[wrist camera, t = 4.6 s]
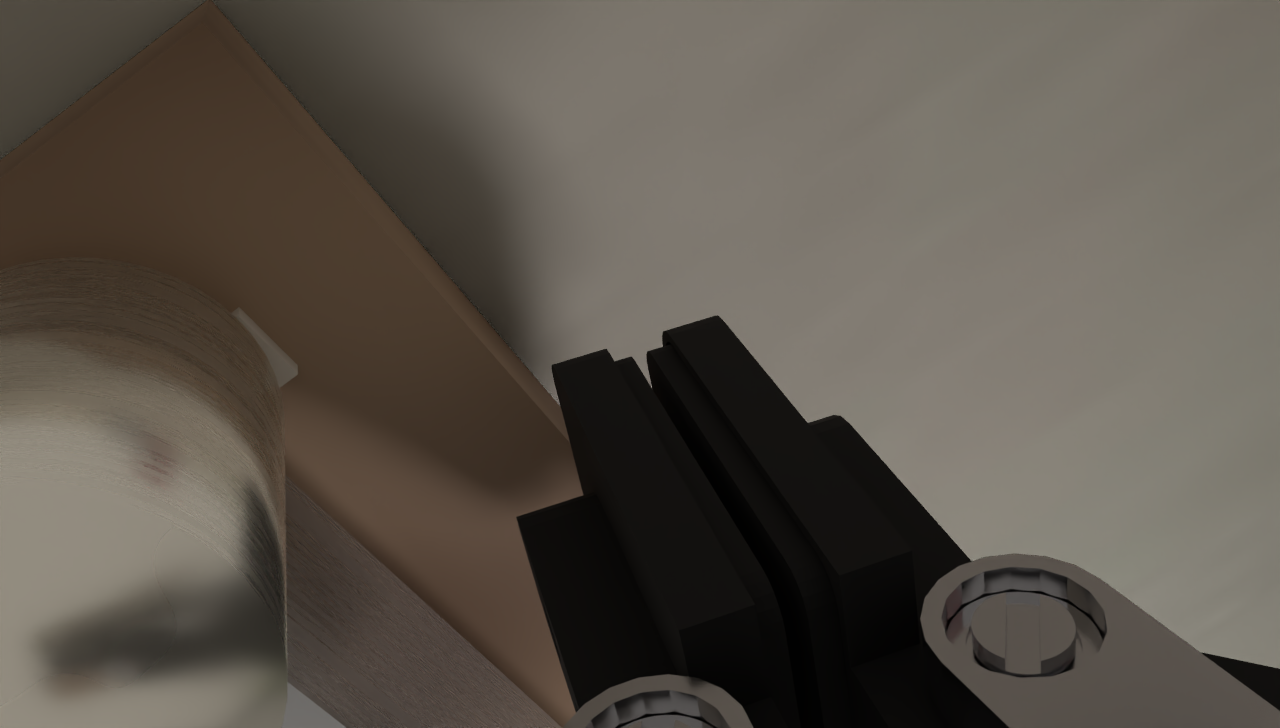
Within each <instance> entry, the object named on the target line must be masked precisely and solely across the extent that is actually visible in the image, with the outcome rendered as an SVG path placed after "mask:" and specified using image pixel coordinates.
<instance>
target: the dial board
mask: <svg viewBox="0 0 1280 728" xmlns="http://www.w3.org/2000/svg"><path fill="white" fill-rule="evenodd" d="M68 257H77V258H101V259H108V260H116V261H123V262H128V263H132V264H136V265H140V266H144V267H148V268H151V269H154V270H157V271H159V272H162V273H165V274H167V275H170V276H173V277H175V278H178V279H180V280H181V281H183V282H185V283H187V284H189V285H191V286H193V287H195V288H197V289H199V290H201V291H202V292H204V293H205V294H207V295H208V296H210V297H211V298H212V299H214V300H215V301H217V302H218V303H220V304H221V305H222V306H223V307H225V308H226V309H227V310H228V311H229V312H230V313H231V314H233V315H234V316H235V317H236V318H237V319H238V320H239V321H240V322H241V323H242V324H243V325H244V326H245V328H246V329H247V330H248V331H249V332H250V333H251V334H252V335H253V337H254V338H255V339H256V341H257V342H258V344H259V345H260V347H261V348H262V350H263V351H264V353H265V354H266V356H267V358H268V360H269V362H270V364H271V366H272V369H273V371H274V373H275V375H276V378H277V381H278V385H279V388H280V391H281V395H282V401H283V408H284V421H285V475H286V476H287V477H288V478H289V479H290V480H292V481H293V482H294V483H295V484H296V485H297V486H298V487H299V488H300V489H301V490H302V491H304V492H305V493H306V494H307V495H308V496H309V497H310V498H311V499H312V500H313V501H315V502H316V503H317V504H318V505H319V506H320V507H321V508H322V509H323V510H324V511H325V512H327V513H328V514H329V515H330V516H331V517H332V518H333V519H334V520H335V521H336V522H337V523H339V524H340V525H341V526H342V527H343V528H344V529H345V530H346V531H347V532H348V533H350V534H351V535H352V536H353V537H354V538H355V539H356V540H357V541H358V542H359V543H360V544H362V545H363V546H364V547H365V548H366V549H367V550H368V551H369V552H370V553H371V554H373V555H374V556H375V557H376V558H377V559H378V560H379V561H380V562H381V563H382V564H383V565H385V566H386V567H387V568H388V569H389V570H390V571H391V572H392V573H393V574H394V575H396V576H397V577H398V578H399V579H400V580H401V581H402V582H403V583H404V584H405V585H406V586H408V587H409V588H410V589H411V590H412V591H413V592H414V593H415V594H416V595H417V596H419V597H420V598H421V599H422V600H423V601H424V602H425V603H426V604H427V605H428V606H429V607H431V608H432V609H433V610H434V611H435V612H436V613H437V614H438V615H439V616H440V617H441V618H443V619H444V620H445V621H446V622H447V623H448V624H449V625H450V626H451V627H452V628H454V629H455V630H456V631H457V632H458V633H459V634H460V635H461V636H462V637H463V638H464V639H466V640H467V641H468V642H469V643H470V644H471V645H472V646H473V647H474V648H475V649H477V650H478V651H479V652H480V653H481V654H482V655H483V656H484V657H485V658H486V659H487V660H489V661H490V662H491V663H492V664H493V665H494V666H495V667H496V668H497V669H498V670H500V671H501V672H502V673H503V674H504V675H505V676H506V677H507V678H508V679H509V680H510V681H512V682H513V683H514V684H515V685H516V686H517V687H518V688H519V689H520V690H521V691H523V692H524V693H525V694H526V695H527V696H528V697H529V698H530V699H531V700H532V701H533V702H535V703H536V704H537V705H538V706H539V707H540V708H541V709H542V710H543V711H544V712H545V713H547V714H548V715H549V716H550V717H551V718H552V719H553V720H554V721H555V722H556V723H558V724H559V725H560V726H561V727H562V728H563V727H564V725H565V724H566V723H567V722H568V721H569V720H570V719H571V718H572V717H573V716H574V714H575V713H576V711H575V708H574V705H573V702H572V699H571V696H570V693H569V690H568V686H567V683H566V680H565V677H564V674H563V671H562V668H561V665H560V661H559V658H558V655H557V652H556V649H555V646H554V642H553V639H552V636H551V633H550V630H549V626H548V623H547V620H546V617H545V613H544V610H543V607H542V603H541V600H540V597H539V594H538V590H537V587H536V584H535V580H534V577H533V573H532V570H531V567H530V563H529V560H528V557H527V553H526V550H525V546H524V543H523V540H522V536H521V533H520V529H519V526H518V522H517V518H516V517H517V516H520V515H523V514H526V513H530V512H533V511H536V510H539V509H542V508H545V507H548V506H551V505H555V504H558V503H561V502H564V501H567V500H570V499H573V498H576V497H580V496H583V492H582V488H581V484H580V480H579V476H578V472H577V468H576V464H575V460H574V457H573V453H572V449H571V445H570V441H569V437H568V433H567V429H566V425H565V421H564V418H563V414H562V410H561V407H560V406H559V405H558V403H557V402H556V401H555V400H554V399H553V398H552V396H551V395H550V394H549V393H548V392H547V391H546V389H545V388H544V387H543V386H542V385H541V384H540V382H539V381H538V380H537V379H536V378H535V377H534V375H533V374H532V373H531V372H530V371H529V370H528V368H527V367H526V366H525V365H524V364H523V363H522V361H521V360H520V359H519V358H518V357H517V356H516V354H515V353H514V352H513V351H512V350H511V349H510V347H509V346H508V345H507V344H506V343H505V342H504V340H503V339H502V338H501V337H500V336H499V335H498V333H497V332H496V331H495V330H494V329H493V328H492V327H491V325H490V324H489V323H488V322H487V321H486V320H485V318H484V317H483V316H482V315H481V314H480V313H479V311H478V310H477V309H476V308H475V307H474V306H473V304H472V303H471V302H470V301H469V300H468V299H467V297H466V296H465V295H464V294H463V293H462V292H461V290H460V289H459V288H458V287H457V286H456V285H455V283H454V282H453V281H452V280H451V279H450V278H449V276H448V275H447V274H446V273H445V272H444V271H443V269H442V268H441V267H440V266H439V265H438V264H437V262H436V261H435V260H434V259H433V258H432V257H431V255H430V254H429V253H428V252H427V251H426V250H425V248H424V247H423V246H422V245H421V244H420V243H419V241H418V240H417V239H416V238H415V237H414V236H413V235H412V233H411V232H410V231H409V230H408V229H407V228H406V226H405V225H404V224H403V223H402V222H401V221H400V219H399V218H398V217H397V216H396V215H395V214H394V212H393V211H392V210H391V209H390V208H389V207H388V205H387V204H386V203H385V202H384V201H383V200H382V198H381V197H380V196H379V195H378V194H377V193H376V191H375V190H374V189H373V188H372V187H371V186H370V184H369V183H368V182H367V181H366V180H365V179H364V177H363V176H362V175H361V174H360V173H359V172H358V170H357V169H356V168H355V167H354V166H353V165H352V163H351V162H350V161H349V160H348V159H347V158H346V156H345V155H344V154H343V153H342V152H341V151H340V150H339V148H338V147H337V146H336V145H335V144H334V143H333V141H332V140H331V139H330V138H329V137H328V136H327V134H326V133H325V132H324V131H323V130H322V129H321V127H320V126H319V125H318V124H317V123H316V122H315V120H314V119H313V118H312V117H311V116H310V115H309V113H308V112H307V111H306V110H305V109H304V108H303V106H302V105H301V104H300V103H299V102H298V101H297V99H296V98H295V97H294V96H293V95H292V94H291V92H290V91H289V90H288V89H287V88H286V87H285V85H284V84H283V83H282V82H281V81H280V80H279V78H278V77H277V76H276V75H275V74H274V73H273V71H272V70H271V69H270V68H269V67H268V66H267V64H266V63H265V62H264V61H263V60H262V59H261V58H260V56H259V55H258V54H257V53H256V52H255V51H254V49H253V48H252V47H251V46H250V45H249V44H248V42H247V41H246V40H245V39H244V38H243V37H242V35H241V34H240V33H239V32H238V31H237V30H236V28H235V27H234V26H233V25H232V24H231V23H230V21H229V20H228V19H227V18H226V17H225V16H224V14H223V13H222V12H221V11H220V10H219V9H218V7H217V6H216V5H215V4H214V3H213V2H212V0H207V1H205V2H204V3H203V4H202V5H200V6H199V7H198V8H196V9H195V10H194V11H193V12H191V13H190V14H189V15H187V16H186V17H185V18H183V19H182V20H181V21H180V22H178V23H177V24H176V25H174V26H173V27H172V28H171V29H169V30H168V31H167V32H165V33H164V34H163V35H161V36H160V37H159V38H158V39H156V40H155V41H154V42H152V43H151V44H150V45H149V46H147V47H146V48H145V49H143V50H142V51H141V52H139V53H138V54H137V55H136V56H134V57H133V58H132V59H130V60H129V61H128V62H127V63H125V64H124V65H123V66H121V67H120V68H119V69H117V70H116V71H115V72H114V73H112V74H111V75H110V76H108V77H107V78H106V79H105V80H103V81H102V82H101V83H99V84H98V85H97V86H96V87H94V88H93V89H92V90H90V91H89V92H88V93H86V94H85V95H84V96H83V97H81V98H80V99H79V100H77V101H76V102H75V103H74V104H72V105H71V106H70V107H68V108H67V109H66V110H64V111H63V112H62V113H61V114H59V115H58V116H57V117H55V118H54V119H53V120H52V121H50V122H49V123H48V124H46V125H45V126H44V127H42V128H41V129H40V130H39V131H37V132H36V133H35V134H33V135H32V136H31V137H30V138H28V139H27V140H26V141H24V142H23V143H22V144H20V145H19V146H18V147H17V148H15V149H14V150H13V151H11V152H10V153H9V154H8V155H6V156H5V157H4V158H2V159H1V160H0V270H3V269H6V268H9V267H12V266H15V265H19V264H24V263H29V262H34V261H38V260H45V259H56V258H68Z"/></svg>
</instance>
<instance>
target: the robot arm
mask: <svg viewBox="0 0 1280 728" xmlns="http://www.w3.org/2000/svg"><path fill="white" fill-rule="evenodd" d="M662 341H663V347H661V348H658V349H654V350H651V351H648V352H647V364H648V370H649V374H650V379H651V384H652V388H651V386H650V385H649V383H648V381H647V380H646V378H645V377H644V375H643V373H642V372H641V370H640V368H639V367H638V365H637V364H636V362H635V360H634V359H633V358H632V357H628V358H625V359H621V360H618V361H615V362H614V360H613V358H612V357H611V355H610V353H609V352H608V350H607V349H603V350H600V351H597V352H594V353H590V354H587V355H584V356H580V357H577V358H574V359H570V360H567V361H564V362H560V363H557V364H554V365H552V373H553V378H554V382H555V386H556V390H557V394H558V398H559V402H560V406H561V410H562V414H563V418H564V421H565V425H566V429H567V433H568V437H569V441H570V445H571V449H572V453H573V457H574V460H575V464H576V468H577V472H578V476H579V480H580V484H581V488H582V492H583V496H580V497H576V498H573V499H570V500H567V501H564V502H561V503H558V504H555V505H551V506H548V507H545V508H542V509H539V510H536V511H533V512H530V513H526V514H523V515H520V516H517V517H516V518H517V522H518V526H519V529H520V533H521V536H522V540H523V543H524V546H525V550H526V553H527V557H528V560H529V563H530V567H531V570H532V573H533V577H534V580H535V584H536V587H537V590H538V594H539V597H540V600H541V603H542V607H543V610H544V613H545V617H546V620H547V623H548V626H549V630H550V633H551V636H552V639H553V642H554V646H555V649H556V652H557V655H558V658H559V661H560V665H561V668H562V671H563V674H564V677H565V680H566V683H567V686H568V690H569V693H570V696H571V699H572V702H573V705H574V708H575V711H576V713H575V714H574V716H573V717H572V718H571V719H570V720H569V721H568V722H567V723H566V724H565V725H564V727H563V728H1280V669H1278V668H1273V667H1268V666H1263V665H1258V664H1254V663H1249V662H1244V661H1239V660H1234V659H1230V658H1225V657H1220V656H1215V655H1211V654H1206V653H1201V652H1199V651H1198V650H1196V649H1195V648H1194V647H1192V646H1191V645H1190V644H1188V643H1187V642H1185V641H1184V640H1183V639H1181V638H1180V637H1179V636H1177V635H1176V634H1175V633H1173V632H1172V631H1171V630H1169V629H1168V628H1166V627H1165V626H1164V625H1162V624H1161V623H1160V622H1158V621H1157V620H1156V619H1154V618H1153V617H1152V616H1150V615H1149V614H1147V613H1146V612H1145V611H1143V610H1142V609H1141V608H1139V607H1138V606H1137V605H1135V604H1134V603H1133V602H1131V601H1130V600H1128V599H1127V598H1126V597H1124V596H1123V595H1122V594H1120V593H1119V592H1118V591H1116V590H1115V589H1114V588H1112V587H1111V586H1109V585H1108V584H1107V583H1105V582H1104V581H1103V580H1101V579H1100V578H1098V577H1096V576H1094V575H1093V574H1091V573H1089V572H1087V571H1085V570H1084V569H1082V568H1080V567H1078V566H1076V565H1074V564H1070V563H1067V562H1064V561H1060V560H1057V559H1054V558H1050V557H1047V556H1037V555H1026V554H1007V555H998V556H989V557H984V558H981V559H978V560H975V561H971V560H970V559H969V558H968V557H967V556H966V555H965V553H964V552H963V551H962V550H961V549H960V548H959V547H958V545H957V544H956V543H955V542H954V541H953V540H952V539H951V538H950V536H949V535H948V534H947V533H946V532H945V531H944V530H943V529H942V527H941V526H940V525H939V524H938V523H937V522H936V521H935V520H934V518H933V517H932V516H931V515H930V514H929V513H928V512H927V510H926V509H925V508H924V507H923V506H922V505H921V504H920V503H919V501H918V500H917V499H916V498H915V497H914V496H913V495H912V494H911V492H910V491H909V490H908V489H907V488H906V487H905V486H904V485H903V483H902V482H901V481H900V480H899V479H898V478H897V477H896V476H895V474H894V473H893V472H892V471H891V470H890V469H889V468H888V466H887V465H886V464H885V463H884V462H883V461H882V460H881V459H880V457H879V456H878V455H877V454H876V453H875V452H874V451H873V450H872V448H871V447H870V446H869V445H868V444H867V443H866V442H865V441H864V439H863V438H862V437H861V436H860V435H859V434H858V433H857V431H856V430H855V429H854V428H853V427H852V426H851V425H850V424H849V423H848V422H847V421H846V420H845V419H844V418H842V417H841V416H837V415H832V416H829V417H826V418H823V419H820V420H817V421H813V422H810V423H807V422H806V421H805V419H804V418H803V417H802V416H801V415H800V413H799V412H798V411H797V410H796V408H795V407H794V406H793V405H792V404H791V402H790V401H789V400H788V399H787V397H786V396H785V395H784V394H783V393H782V391H781V390H780V389H779V388H778V387H777V385H776V384H775V383H774V382H773V380H772V379H771V378H770V377H769V376H768V374H767V373H766V372H765V371H764V370H763V368H762V367H761V366H760V365H759V363H758V362H757V361H756V360H755V359H754V357H753V356H752V355H751V354H750V352H749V351H748V350H747V349H746V348H745V346H744V345H743V344H742V343H741V342H740V340H739V339H738V338H737V337H736V335H735V334H734V333H733V332H732V331H731V329H730V328H729V327H728V326H727V325H726V323H725V322H724V321H723V320H722V319H721V318H720V317H719V316H713V317H710V318H706V319H703V320H700V321H696V322H693V323H690V324H686V325H683V326H680V327H677V328H673V329H670V330H667V331H663V335H662ZM652 389H653V390H652Z"/></svg>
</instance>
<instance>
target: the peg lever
mask: <svg viewBox="0 0 1280 728" xmlns="http://www.w3.org/2000/svg"><path fill="white" fill-rule="evenodd" d="M0 728H562V727H561V726H560V725H559V724H558V723H556V722H555V721H554V720H553V719H552V718H551V717H550V716H549V715H548V714H547V713H545V712H544V711H543V710H542V709H541V708H540V707H539V706H538V705H537V704H536V703H535V702H533V701H532V700H531V699H530V698H529V697H528V696H527V695H526V694H525V693H524V692H523V691H521V690H520V689H519V688H518V687H517V686H516V685H515V684H514V683H513V682H512V681H510V680H509V679H508V678H507V677H506V676H505V675H504V674H503V673H502V672H501V671H500V670H498V669H497V668H496V667H495V666H494V665H493V664H492V663H491V662H490V661H489V660H487V659H486V658H485V657H484V656H483V655H482V654H481V653H480V652H479V651H478V650H477V649H475V648H474V647H473V646H472V645H471V644H470V643H469V642H468V641H467V640H466V639H464V638H463V637H462V636H461V635H460V634H459V633H458V632H457V631H456V630H455V629H454V628H452V627H451V626H450V625H449V624H448V623H447V622H446V621H445V620H444V619H443V618H441V617H440V616H439V615H438V614H437V613H436V612H435V611H434V610H433V609H432V608H431V607H429V606H428V605H427V604H426V603H425V602H424V601H423V600H422V599H421V598H420V597H419V596H417V595H416V594H415V593H414V592H413V591H412V590H411V589H410V588H409V587H408V586H406V585H405V584H404V583H403V582H402V581H401V580H400V579H399V578H398V577H397V576H396V575H394V574H393V573H392V572H391V571H390V570H389V569H388V568H387V567H386V566H385V565H383V564H382V563H381V562H380V561H379V560H378V559H377V558H376V557H375V556H374V555H373V554H371V553H370V552H369V551H368V550H367V549H366V548H365V547H364V546H363V545H362V544H360V543H359V542H358V541H357V540H356V539H355V538H354V537H353V536H352V535H351V534H350V533H348V532H347V531H346V530H345V529H344V528H343V527H342V526H341V525H340V524H339V523H337V522H336V521H335V520H334V519H333V518H332V517H331V516H330V515H329V514H328V513H327V512H325V511H324V510H323V509H322V508H321V507H320V506H319V505H318V504H317V503H316V502H315V501H313V500H312V499H311V498H310V497H309V496H308V495H307V494H306V493H305V492H304V491H302V490H301V489H300V488H299V487H298V486H297V485H296V484H295V483H294V482H293V481H292V480H290V479H289V478H288V477H287V476H286V475H285V421H284V408H283V401H282V395H281V391H280V388H279V385H278V381H277V378H276V375H275V373H274V371H273V369H272V366H271V364H270V362H269V360H268V358H267V356H266V354H265V353H264V351H263V350H262V348H261V347H260V345H259V344H258V342H257V341H256V339H255V338H254V337H253V335H252V334H251V333H250V332H249V331H248V330H247V329H246V328H245V326H244V325H243V324H242V323H241V322H240V321H239V320H238V319H237V318H236V317H235V316H234V315H233V314H231V313H230V312H229V311H228V310H227V309H226V308H225V307H223V306H222V305H221V304H220V303H218V302H217V301H215V300H214V299H212V298H211V297H210V296H208V295H207V294H205V293H204V292H202V291H201V290H199V289H197V288H195V287H193V286H191V285H189V284H187V283H185V282H183V281H181V280H180V279H178V278H175V277H173V276H170V275H167V274H165V273H162V272H159V271H157V270H154V269H151V268H148V267H144V266H140V265H136V264H132V263H128V262H123V261H116V260H108V259H101V258H77V257H68V258H56V259H45V260H38V261H34V262H29V263H24V264H19V265H15V266H12V267H9V268H6V269H3V270H0Z"/></svg>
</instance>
